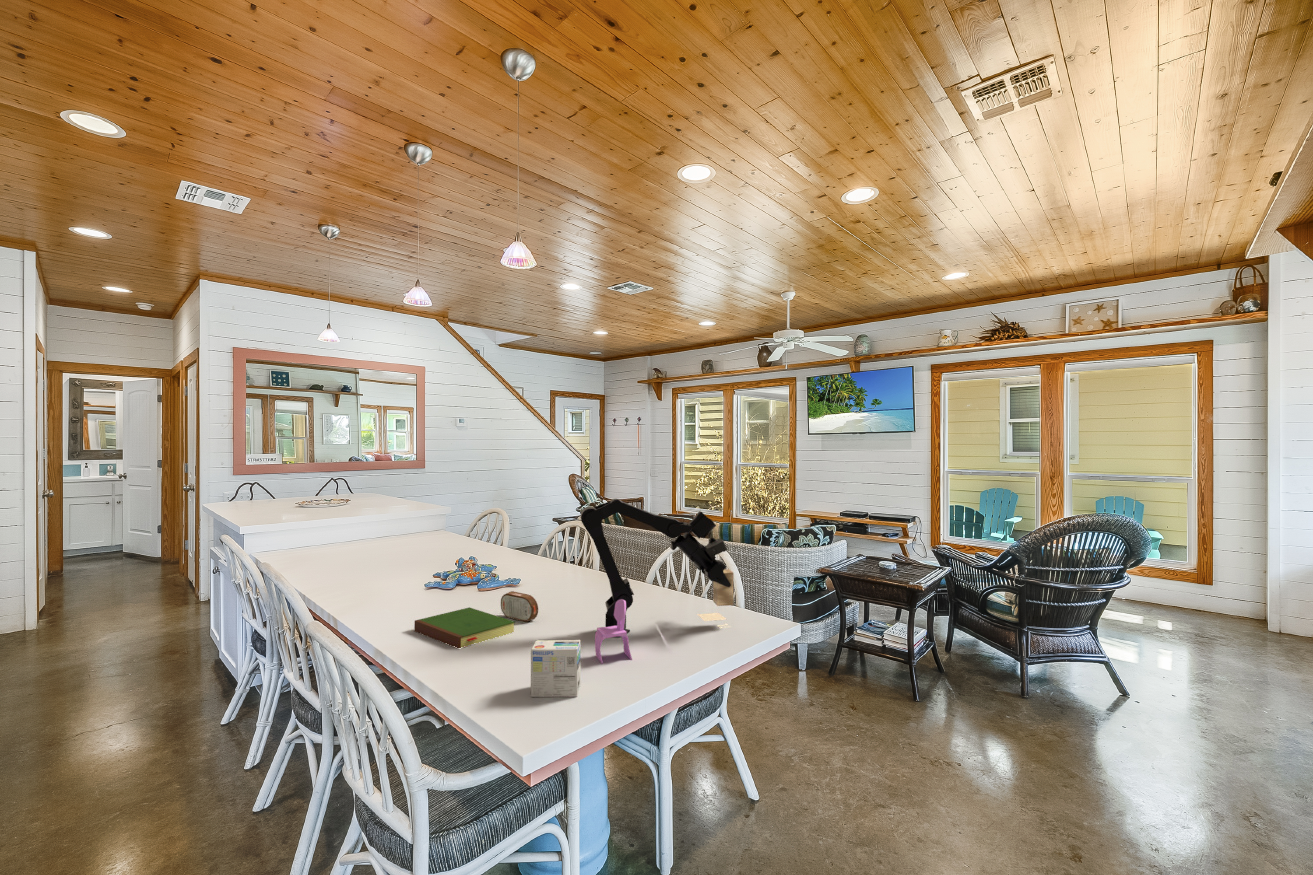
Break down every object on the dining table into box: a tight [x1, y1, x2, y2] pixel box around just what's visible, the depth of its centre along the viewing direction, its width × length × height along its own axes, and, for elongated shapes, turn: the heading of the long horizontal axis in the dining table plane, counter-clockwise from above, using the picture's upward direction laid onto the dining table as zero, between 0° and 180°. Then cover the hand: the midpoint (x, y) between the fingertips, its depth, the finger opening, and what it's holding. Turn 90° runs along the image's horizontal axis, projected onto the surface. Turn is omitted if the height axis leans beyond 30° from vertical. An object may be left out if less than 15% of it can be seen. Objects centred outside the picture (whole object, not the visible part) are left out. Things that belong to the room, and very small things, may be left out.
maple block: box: [712, 568, 734, 607], centre depth 176 cm, size 5×5×10 cm
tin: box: [500, 590, 539, 623], centre depth 184 cm, size 15×3×8 cm, turn 58°
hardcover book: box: [414, 607, 516, 649], centre depth 170 cm, size 25×19×4 cm
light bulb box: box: [530, 639, 581, 698], centre depth 129 cm, size 11×7×11 cm, turn 92°
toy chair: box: [594, 599, 633, 665], centre depth 150 cm, size 8×9×15 cm
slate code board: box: [696, 612, 731, 629], centre depth 180 cm, size 24×14×1 cm, turn 15°
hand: (727, 584), depth 176 cm, fingers closed on maple block, 5 cm apart
